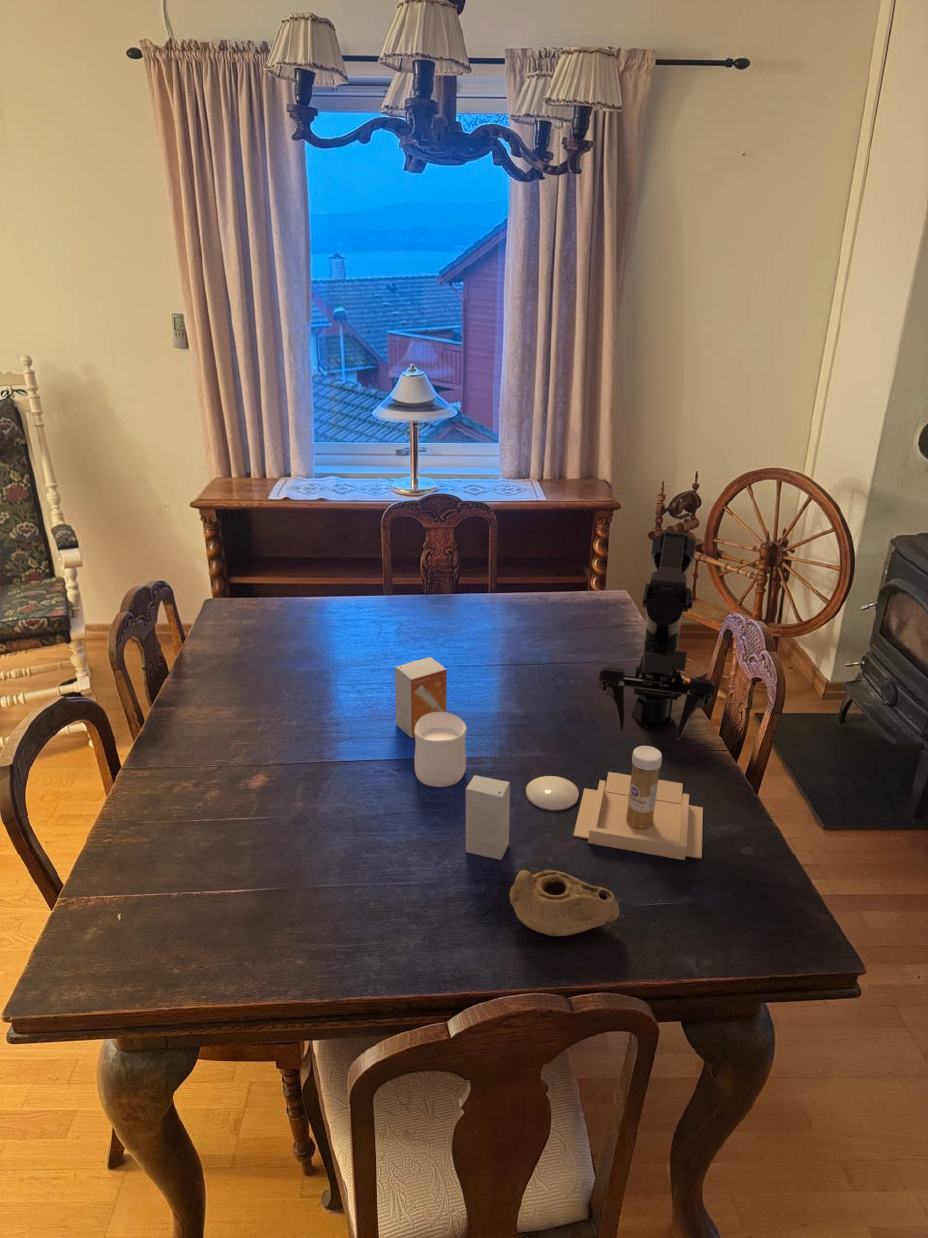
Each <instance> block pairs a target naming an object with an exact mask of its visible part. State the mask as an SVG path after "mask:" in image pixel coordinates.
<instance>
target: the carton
mask: <svg viewBox="0 0 928 1238" xmlns="http://www.w3.org/2000/svg"><path fill="white" fill-rule="evenodd" d="M606 777H607V778H606V780H602V779H599V783H598V788H597V789H590V788H586V787H585V788H584V789H583V793H582V798H581V801H580V806H579V809H578V814H577V818H576V822H575V827H574V830H573V837H575V838H581V839H587V843H588V844H591V845H592V844H593V845H596V846H603V847H609V848H614V849H618V850H626V851H630V852H638V853H640V854H641V853H642V854H646V855H647V854H648V855H653V856H654V855H655V856H659V857H663V858H664V857H665V858H670V859H676V860H682V861H685V859H686V857H688V858H689V857H690V858H694V859H699V860H700V859H701V860H702V858H703V857H702V856H703V854H702V853H703V823H704V822H703V821H704V820H703V818H704V817H703V815H704V807H701V806H697V805H691V804H689V803H690V794H689V793H684V792H683V787H684V786H683V785H684V783H682V782H675V781H669V780H664V779H658V786H657V794H656V802H655V808H654V814H653V824H652V825H651V826H650V827H648V828H645V829H639V828H635V827H632V826H631V825H629V823H628V822H627V821H626V815H627V808H628V796H629V788H630V783H631V775H630V774H625V773H618V772H612V771H608V772H607V776H606Z"/></svg>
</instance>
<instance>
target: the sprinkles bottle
mask: <svg viewBox="0 0 928 1238" xmlns="http://www.w3.org/2000/svg"><path fill="white" fill-rule="evenodd" d="M662 758H663V755H662V752H661V751H660V750H659V749H658V748H655V747H654V746H651V745H640V746H639V745H638V746H637V747H635V748H634V750H633V752H632V757H631V761H632V762H631V763H632V768H631V773H630V774H631V783H630V788H629V796H628V808H627V815H626V821H627V822H628V823H629V825H631V826H632V827H635V828H639V829H645V828H648V827H650V826H651V825H652V824H653V814H654V808H655V802H656V794H657V786H658V780H659V774H660V769H661V766H662V762H663V761H662V760H663V759H662Z"/></svg>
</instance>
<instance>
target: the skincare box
mask: <svg viewBox="0 0 928 1238" xmlns="http://www.w3.org/2000/svg"><path fill="white" fill-rule="evenodd" d="M510 794H511V782H510V781H506V780H500V779H496V778H495V779H494V778H490V777H484V776H480V775H475V774H474V775H473V777H472V779H471V780H470V782H469V783H468V785H467V786H466V788H465V852H466V853H468V854H473V855H478V856H480V857H481V856H482V857H487V858H490V859H495V860H499V861H501V860H502V859H503V858H504V855H505V853H506V850H507V848H508V847H509V844H510V837H509V836H510V800H511V799H510V798H511V795H510Z"/></svg>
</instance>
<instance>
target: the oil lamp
mask: <svg viewBox="0 0 928 1238" xmlns="http://www.w3.org/2000/svg"><path fill="white" fill-rule="evenodd" d="M509 903H510V904H511V905H512V908H513V910H514V913H515V914H516V917H517V919H518V920H519V921H520V922H521V923H522V924H523V925H525V926H526V927H527V928H529V929H531V930H533V931H535V932H537V933H540V934H545V935H547V936H550V937H564V936H570V935H571V936H572V935H575V934H579V933H582V932H585V931H588V930H591V929H594V928H596V927H597V928H598V927H601V926H603V925H606V924H609V923H611V922H614V921H616V920H617V919H618V918H619V916H620V907H619V905H618V902H617V900H616V898H615V895H614V893H613V892H612V891H610V890H609V889H607V888H605V887H602V886H597V885H596V886H595V885H591V884H589V883H587V882H585V881H583V880H580V879H578V878H577V877H575V876H572V875H570V874H569V873H566V872H563V871H559V870H551V869H549V870H547V869H546V870H543V871H540V872H536V873H535V874H532V873H531V872H530V871H529V870H527V869H524V870H523V869H522V870H520V871H519V872H518V874H517V875H516V877H515V880H514V883H513V885H511V886H510V890H509Z"/></svg>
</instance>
